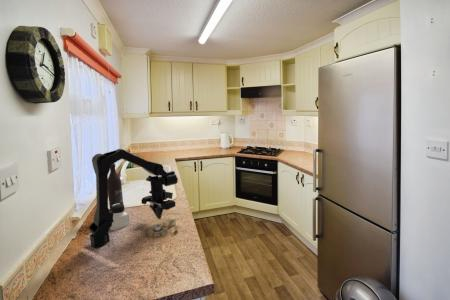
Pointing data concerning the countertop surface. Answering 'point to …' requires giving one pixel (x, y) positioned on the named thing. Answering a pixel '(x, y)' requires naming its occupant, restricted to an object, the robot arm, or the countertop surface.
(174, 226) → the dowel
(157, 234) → the ring with handle
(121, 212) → the printed carton box
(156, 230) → the grey shiny ball
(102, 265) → the countertop surface
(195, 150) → the countertop surface
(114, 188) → the wine bottle
